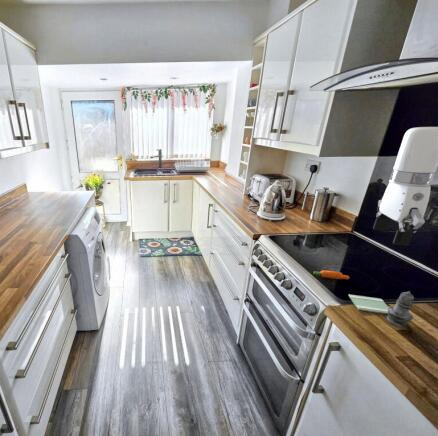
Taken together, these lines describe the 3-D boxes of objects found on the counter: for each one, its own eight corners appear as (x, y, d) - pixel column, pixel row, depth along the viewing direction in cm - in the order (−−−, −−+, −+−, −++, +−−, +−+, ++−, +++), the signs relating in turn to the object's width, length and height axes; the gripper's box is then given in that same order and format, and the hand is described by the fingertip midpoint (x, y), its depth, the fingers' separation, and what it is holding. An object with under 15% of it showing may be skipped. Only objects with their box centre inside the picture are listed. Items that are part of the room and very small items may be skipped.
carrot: (346, 277, 100) (348, 271, 99) (350, 282, 97) (352, 275, 96) (312, 273, 104) (313, 267, 103) (314, 277, 101) (315, 271, 100)
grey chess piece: (408, 331, 74) (423, 300, 70) (382, 321, 78) (395, 291, 74) (410, 321, 77) (424, 291, 73) (385, 312, 82) (397, 282, 77)
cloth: (348, 295, 90) (348, 294, 90) (380, 299, 87) (381, 298, 87) (358, 309, 83) (358, 308, 83) (394, 315, 80) (395, 314, 80)
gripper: (458, 185, 53) (428, 253, 59) (406, 171, 69) (387, 226, 75) (415, 184, 56) (391, 249, 62) (374, 171, 71) (358, 224, 77)
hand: (389, 236), depth 68 cm, fingers open, 9 cm apart
